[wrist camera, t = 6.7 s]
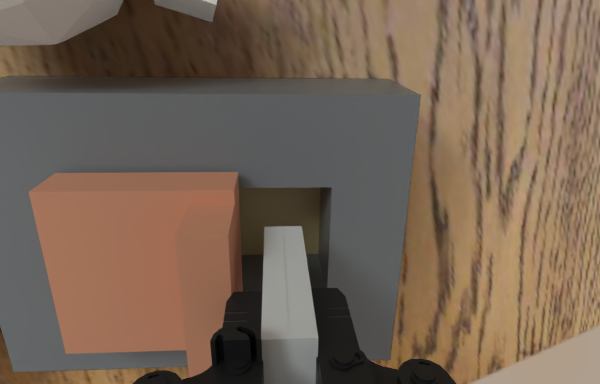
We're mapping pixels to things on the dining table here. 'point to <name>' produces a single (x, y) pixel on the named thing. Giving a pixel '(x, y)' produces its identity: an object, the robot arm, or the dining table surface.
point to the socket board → (215, 158)
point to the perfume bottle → (73, 17)
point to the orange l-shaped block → (140, 259)
